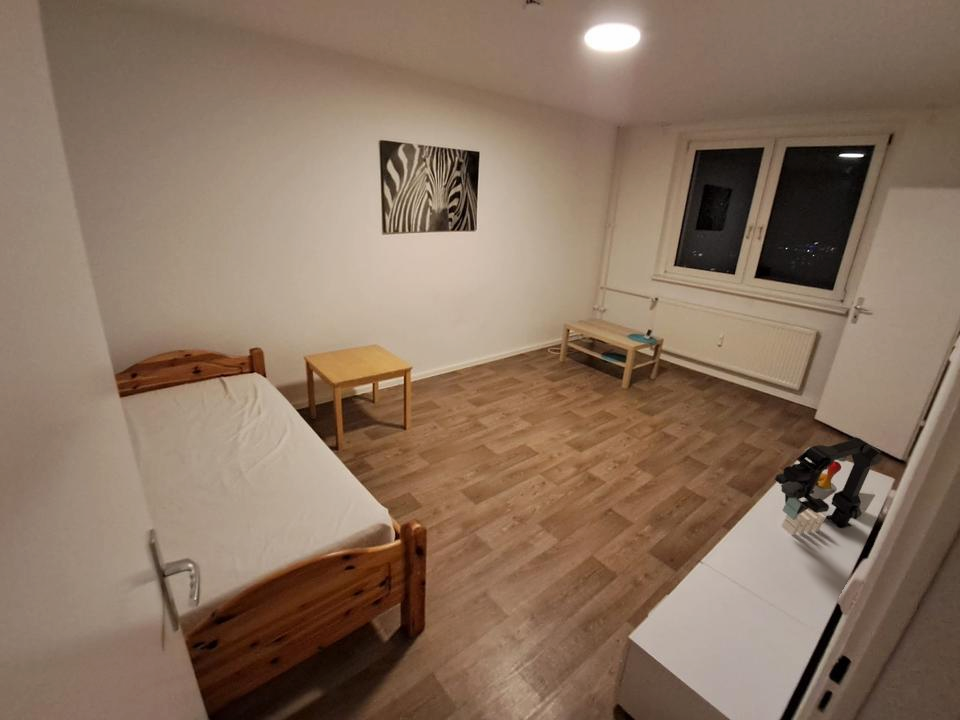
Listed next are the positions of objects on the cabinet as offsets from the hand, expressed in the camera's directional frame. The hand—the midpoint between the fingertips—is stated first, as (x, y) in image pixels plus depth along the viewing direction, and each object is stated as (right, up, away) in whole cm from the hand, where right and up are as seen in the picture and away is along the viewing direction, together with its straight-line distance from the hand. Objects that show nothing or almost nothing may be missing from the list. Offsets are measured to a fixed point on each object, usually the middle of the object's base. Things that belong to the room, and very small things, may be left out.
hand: (792, 508), depth 171 cm
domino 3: (+7, -11, +7) cm, 15 cm away
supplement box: (+40, -8, +21) cm, 46 cm away
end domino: (+14, -11, +9) cm, 20 cm away
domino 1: (0, -3, +1) cm, 3 cm away
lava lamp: (+20, -7, +18) cm, 28 cm away
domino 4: (+10, -11, +8) cm, 17 cm away
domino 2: (+3, -11, +6) cm, 13 cm away
